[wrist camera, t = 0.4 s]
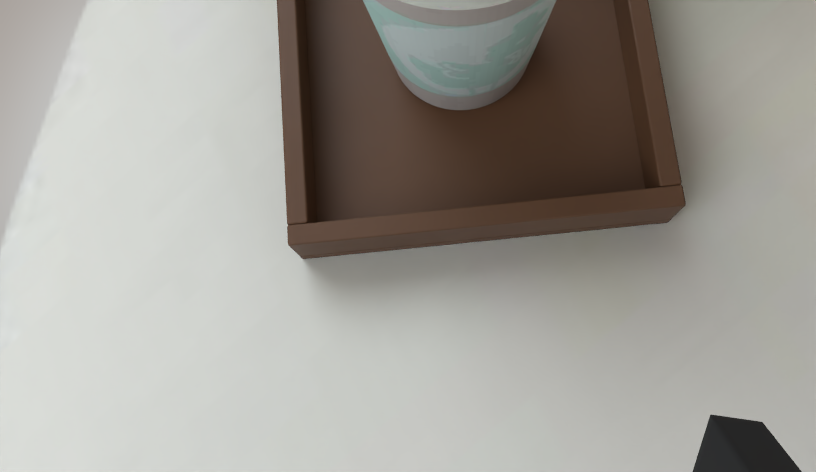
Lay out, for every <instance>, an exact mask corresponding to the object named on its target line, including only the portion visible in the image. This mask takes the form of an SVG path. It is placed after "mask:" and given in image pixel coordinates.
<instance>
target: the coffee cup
mask: <svg viewBox="0 0 816 472" xmlns="http://www.w3.org/2000/svg"><path fill="white" fill-rule="evenodd" d="M363 2H364V4H365V6H366V8H367V10H368V12H369V14H370V16H371V19H372V21H373V23H374V25H375V27H376V29H377V31H378V33H379V36H380V38H381V40H382V42H383V44H384V46H385V48H386V50H387V53H388V55H389V57H390V59H391V61H392V63H393V65H394V67H395V69H396V71H397V73H398V75H399V77H400V79H401V80H402V82H403V83H404V84H405V86H406V87H407V88H408V89H409V90H410V91H411V92H412V93H413V94H414V95H416V96H417V97H418V98H420V99H421V100H423V101H425V102H427V103H429V104H431V105H433V106H436V107H439V108H444V109H449V110H471V109H476V108H480V107H483V106H486V105H489V104H491V103H493V102H495V101H497V100H499V99H500V98H502V97H503V96H505V95H506V94H507V93H508V92H510V91H511V90H512V89H513V88H514V87H515V86H516V84H517V83H518V82H519V80H520V79H521V77H522V76H523V74H524V72H525V70H526V68H527V66H528V63H529V61H530V59H531V57H532V54H533V52H534V50H535V48H536V46H537V43H538V41H539V39H540V37H541V34H542V32H543V30H544V27H545V25H546V23H547V21H548V18H549V16H550V14H551V11H552V9H553V7H554V4H555V2H556V0H363Z"/></svg>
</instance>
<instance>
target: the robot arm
mask: <svg viewBox="0 0 816 472" xmlns="http://www.w3.org/2000/svg"><path fill="white" fill-rule="evenodd" d="M693 472H801V470H800V469H799V468H798V467H797V465H796V464H795V463H794V461H793V460H792V459H791V458H790V456H789V455H788V454H787V453H786V451H785V450H784V449H783V448H782V446H781V445H780V444H779V443H778V441H777V440H776V439H775V438H774V436H773V435H772V434H771V433H770V431H769V430H768V429H767V428H766V426H765V425H764V424H763V423H762V422H758V421H751V420H744V419H737V418H730V417H723V416H717V415H710V418H709V421H708V424H707V428H706V431H705V434H704V437H703V440H702V444H701V447H700V450H699V453H698V456H697V460H696V463H695V466H694V469H693Z"/></svg>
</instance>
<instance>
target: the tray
mask: <svg viewBox="0 0 816 472" xmlns="http://www.w3.org/2000/svg"><path fill="white" fill-rule="evenodd" d="M277 12H278V33H279V55H280V77H281V98H282V120H283V141H284V163H285V185H286V206H287V224H288V225H289V226H288V227H287V230H288V245H289V246H290V247H291V248H292V249H293V250H294V251H295V252H296V253H297V254H298V255H299V256H300V257H301V258H302V259H307V258H317V257H327V256H337V255H347V254H357V253H367V252H377V251H387V250H397V249H407V248H417V247H427V246H437V245H447V244H457V243H467V242H477V241H487V240H497V239H507V238H518V237H528V236H538V235H548V234H558V233H568V232H578V231H588V230H598V229H608V228H618V227H628V226H638V225H648V224H658V223H667V222H668V221H669V220H671V218H672V217H673V216H674V215H676V214H677V213H678V212H679V211H680V210H681V209H682V208H683V207H684V206H685V204H686V203H685V198H684V193H683V187H682V185H681V177H680V172H679V166H678V161H677V156H676V150H675V145H674V139H673V134H672V128H671V123H670V117H669V112H668V107H667V101H666V96H665V90H664V85H663V79H662V74H661V68H660V63H659V58H658V52H657V47H656V41H655V36H654V30H653V25H652V20H651V14H650V9H649V3H648V0H556V2H555V4H554V7H553V9H552V11H551V14H550V16H549V18H548V21H547V23H546V25H545V27H544V30H543V32H542V34H541V37H540V39H539V41H538V43H537V46H536V48H535V50H534V52H533V54H532V57H531V59H530V61H529V63H528V66H527V68H526V70H525V72H524V74H523V76H522V77H521V79H520V80H519V82H518V83H517V84H516V86H515V87H514V88H513V89H512V90H511V91H510V92H508V93H507V94H506V95H505V96H503V97H502V98H500V99H499V100H497V101H495V102H493V103H491V104H489V105H486V106H483V107H480V108H476V109H471V110H449V109H444V108H439V107H436V106H433V105H431V104H429V103H427V102H425V101H423V100H421V99H420V98H418V97H417V96H416V95H414V94H413V93H412V92H411V91H410V90H409V89H408V88H407V87H406V86H405V84H404V83H403V82H402V80H401V79H400V77H399V75H398V73H397V71H396V69H395V67H394V65H393V63H392V61H391V59H390V57H389V55H388V53H387V50H386V48H385V46H384V44H383V42H382V40H381V38H380V36H379V33H378V31H377V29H376V27H375V25H374V23H373V21H372V19H371V16H370V14H369V12H368V10H367V8H366V6H365V4H364V2H363V0H277Z"/></svg>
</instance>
